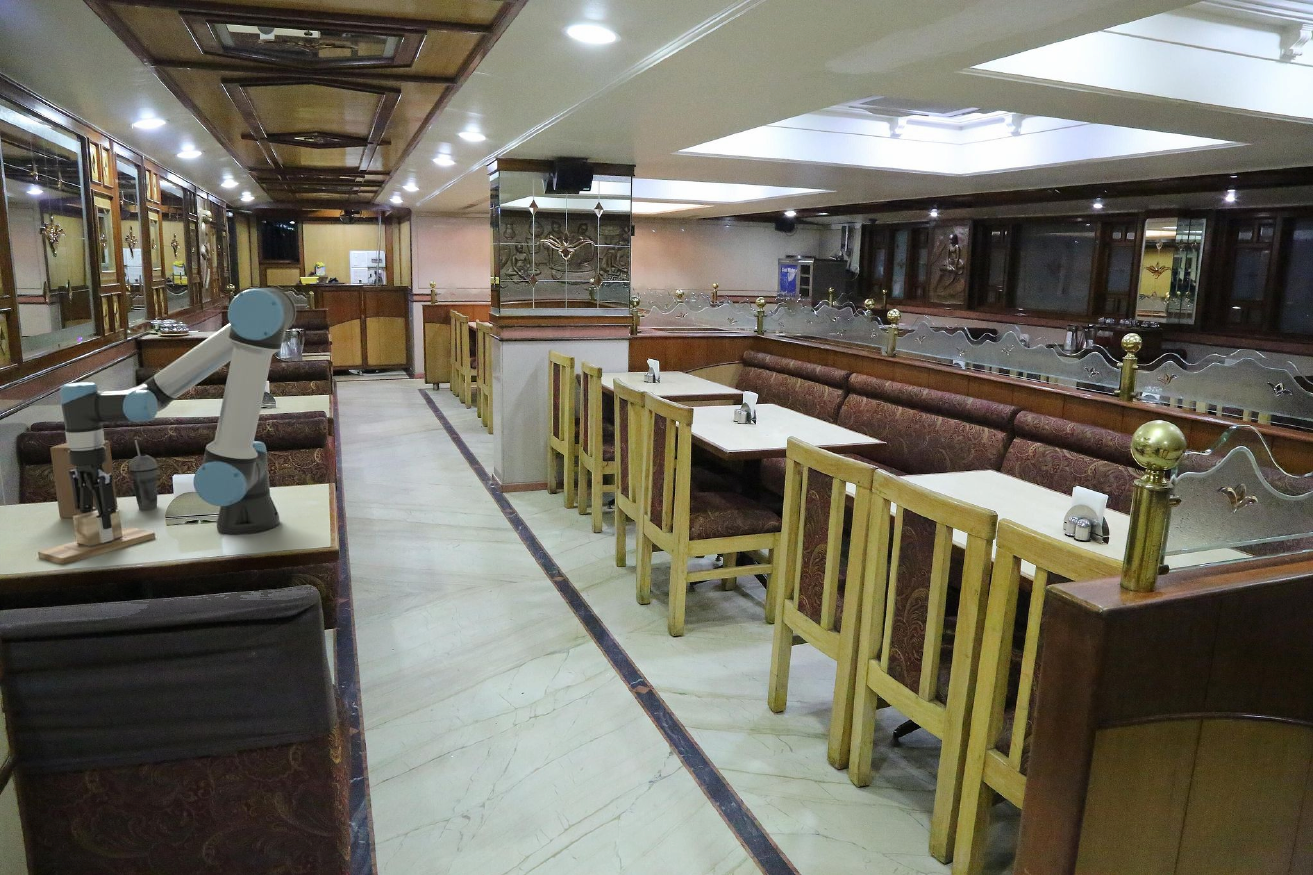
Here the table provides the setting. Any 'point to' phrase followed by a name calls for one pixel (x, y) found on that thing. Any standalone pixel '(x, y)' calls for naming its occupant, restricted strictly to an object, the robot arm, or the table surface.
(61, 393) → the robot arm
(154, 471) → the beverage cup
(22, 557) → the table surface
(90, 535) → the block
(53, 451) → the wooden block
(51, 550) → the board
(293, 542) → the table surface
